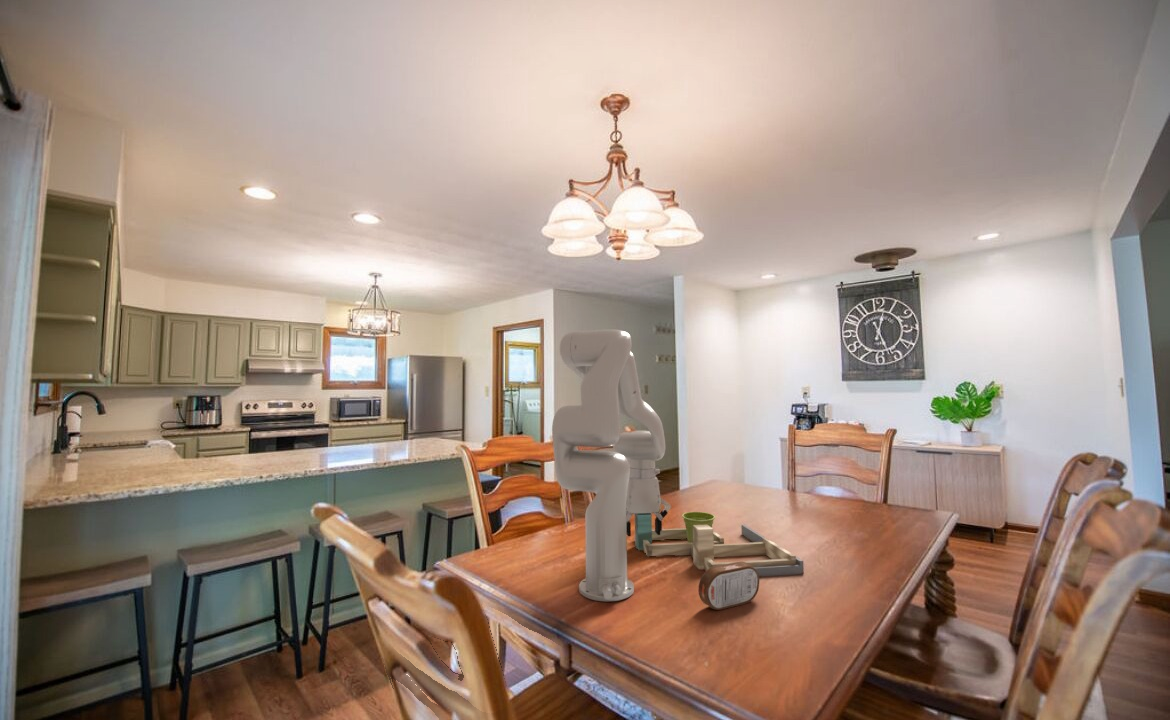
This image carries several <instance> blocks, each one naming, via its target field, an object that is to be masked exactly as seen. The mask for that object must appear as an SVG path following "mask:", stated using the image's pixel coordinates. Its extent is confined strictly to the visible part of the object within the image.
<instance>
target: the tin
mask: <svg viewBox="0 0 1170 720" xmlns="http://www.w3.org/2000/svg"><path fill="white" fill-rule="evenodd" d="M738 561H739V562H736V561H733V562H734V563H729V564H724V565H718V566H713V567H711V568H709V569H708V570H707V571H706V570H705V571H704V573H703V574H702V575H701V577H700V579H699V583H698V595H699V598H700V601H701V602H702V603H703V604H704V605H706V606H708V607H709V608H711V609H713V610H716V611H720V610H725V609H728V608H732V607H733V608H735V607H737V606H741V605H746V604H749V603H751V602H752V601H753V600H754V599H755V598H756V596H757V594H758V592H759V588H760V576H759V574H758V572H757V570H756V569H755V568H754V567H752V566H750V565H749V564H747V563H746V562H743V561H744V560H738Z"/></svg>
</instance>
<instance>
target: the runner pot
mask: <svg viewBox="0 0 1170 720" xmlns="http://www.w3.org/2000/svg"><path fill="white" fill-rule="evenodd" d="M652 514H653V513H651V514H634V547H635V546H636V547H635V548H636V550H637V549H638V550H637V551H638V552H639V551H640V550H643V552H644V554H645V553H646V554H645V555H646V556H647V558H650V557H649V556H656V557H663V556H662V555H675V556H691V555H690V554H691V550H690V548H692V546H693V542H688V541H686V542H669V543H653V541H652V540H661V541H663V540H662V539H681V540H688V538H687V532H686V527H685V528H684V527H683V528H677V527H676V528H662V531H660V535H658V534H657V533H656V532H655V529H653V524H652V520H653V518H652V517H653V515H652ZM686 538H687V539H686ZM713 539H714V544H725V538H724V537H723V536H722V535H720V534H719V533H717V531H715V530H713ZM640 552H641V551H640ZM660 555H661V556H660Z"/></svg>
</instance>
